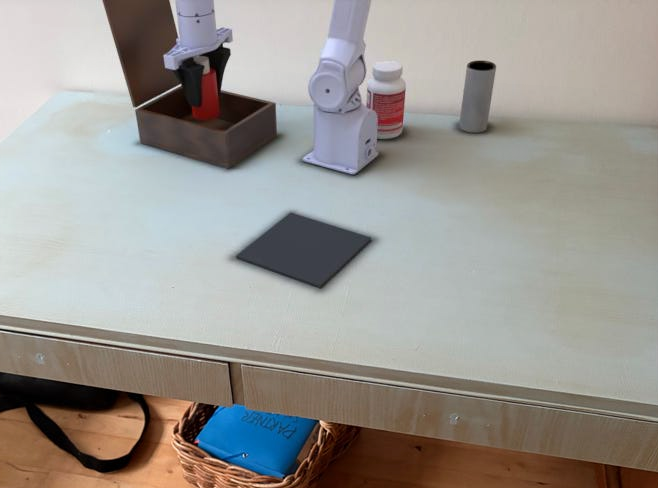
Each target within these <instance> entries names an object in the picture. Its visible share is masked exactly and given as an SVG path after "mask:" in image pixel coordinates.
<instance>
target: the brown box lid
mask: <svg viewBox="0 0 658 488" xmlns="http://www.w3.org/2000/svg"><path fill="white" fill-rule="evenodd" d="M101 1H102V3H103V7H104V11H105V13H106V19H107V22H108V25H109V29H110V32H111V35H112V39H113V43H114V45H115V49H116V52H117V53H116V54H117V56H118V60H119V63H120V67H121V70H122V73H123V76H124V80H125V83H126V88H127V90H128V95H129V98H130V100H131V105H132V108H136V109H137V108H139V106H140V107H141V106H143V105H145V104H146V103H148V102H150V101H152V100H154V99H156V98H158V97H160V96H162V95H164V94H166V93H168V92H169V91H171V90H173V89H175V88H177V87H179V86H181V84H180V82H179V80H178V78H177V77H176V75H175V74H174V72H173V71H172V70H171V69H168V68H165V63H164V56H163V55H165V54H167V53H168V52H169V51H171V50H172V49H173V48H174V47H175V46H176V45H177V43H176V39H177V38H179V33H178V29H177V26H176V22H175V17H174V13H173V9H172V5H171V1H170V0H101Z"/></svg>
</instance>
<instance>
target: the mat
mask: <svg viewBox="0 0 658 488" xmlns="http://www.w3.org/2000/svg"><path fill="white" fill-rule="evenodd" d="M371 241H372V237H371V236H367V235H365V234H362V233H358V232H355V231H352V230H349V229H345V228H342V227H339V226H335V225H332V224H330V223H326V222H323V221H319V220H316V219H313V218H310V217H306V216H303V215H301V214H297V213H294V212H289V213H288V214H286V216H284V217H283V218H281V219H280V220H278V222H277V223H275V224H274V225H273V226H271V227H270V228H269V229H267V230H266V231H265V232H264V233H262V234H261V235H260V236H259V237H258V238H256V239H255V240H254V241H252V243H251V242H250V244H249V245H248V246H246V247H245V248H244V249H242V250H241V251H240V252H238V254H236V255H235V258H236V259H237V260H240V261H243V262H246V263H249V264H252V265H254V266H257V267H260V268H263V269H265V270H268V271H270V272H274V273H277V274H278V275H282V276H285V277H288V278H290V279H292V280H296V281H299V282H301V283H304V284H307V285H309V286H312V287H316V288H318V289H321V288H322V287H323V286H324V285H325V284H326V283H328V281H330V280H331V279H332V278H333V277H334V276H335V275H336V274H337V273H338V272H339V271H340V270H341V269H342V268H343V267H344V266H345V265H347V264H348V262H350V261H351V260H352V259H353V258H354V257H355V256H356V255H357V254H358V253H359V252H360V251H362V250H363V248H365V247H366V246H367V245H368V244H369V243H370V242H371Z"/></svg>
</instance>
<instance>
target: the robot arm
mask: <svg viewBox="0 0 658 488" xmlns="http://www.w3.org/2000/svg"><path fill="white" fill-rule="evenodd" d="M174 2H175V9H176V17H177V18H176V19H177V26H178V36H179V37H178V38H177V39H176V43H177V45H176V46H175V47H174V48H173V49H172V50H171V51H169V52H168V53H167V54H165V55H163V56H164V63H165V68H168V69H171V70H172V71H173V72H174V74H175V75H176V77H177V78H178V80H179V82H180V86H182V88H183V90H184V92H185V95H186V98H187V100H188V103H189V105H191V106H195V107H200V106H201V104H202V90H201V84H202V75H203V71H204V67H205V66H204V65H200V64H196V61H194V58H195V57H198V56H206V57H208V58H209V66H210V68H213V69H215V71H216V80H217V91H218V96H220V92H221V90H222V85H223V79H224V73H225V71H226V67H227V64H228V61H229V59H230V57H231V55H232V54H231V53H232V51H231V48H230V47H226V46H224V44H226V43H227V44H230V43H232V42H233V41H234V38H233V37H234V36H233V28H230V27H225V26H222V27H219V28H217V22H216V10H215V0H174ZM371 4H372V0H333V6H332V11H331V16H330V22H329V27H328V33H327V38H326V41H325V43H324V46H323V48H322V51H321V53H320V56H319V59H318V64H317V68H316V69H315V71H313V73H312V75H311V76H310V78H309V80H308V84H307V91H308V96H309V98H310V100H311V101H312V103H313V149H312V150H311V151H310V152H309V153H307V154H306V155H305V156H303V157H302V161H303V162H305V163H309V164H312V165H316V166H319V167H324V168H326V169H330V170H334V171H338V172H341V173H345V174H349V175H356V174H357V173H358V172H360V171H361V170H362V169H363V168H364V167H366V166H367V165H368V164H369V163H371V162H372V161H373V160H374V159H376V158H377V157H378V156H379V152H378V151H377V147H378V146H377V145H378V144H377V143H378V138H377V128H378V117H377V114H376V112H375V111H374V110H372V109H369V108H367V107H366V104H364V102H362V95H361V92H360V86H361V85H362V84H363V83H364V82H365V79H366V76H367V71H368V70H367V64H366V60H365V59H366V58H365V54H366V53H365V51H366V47H367V44H366V42H365V40H364V38H365V37H364V36H365V32H366V27H367V23H368V18H369V14H370V8H371Z"/></svg>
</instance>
